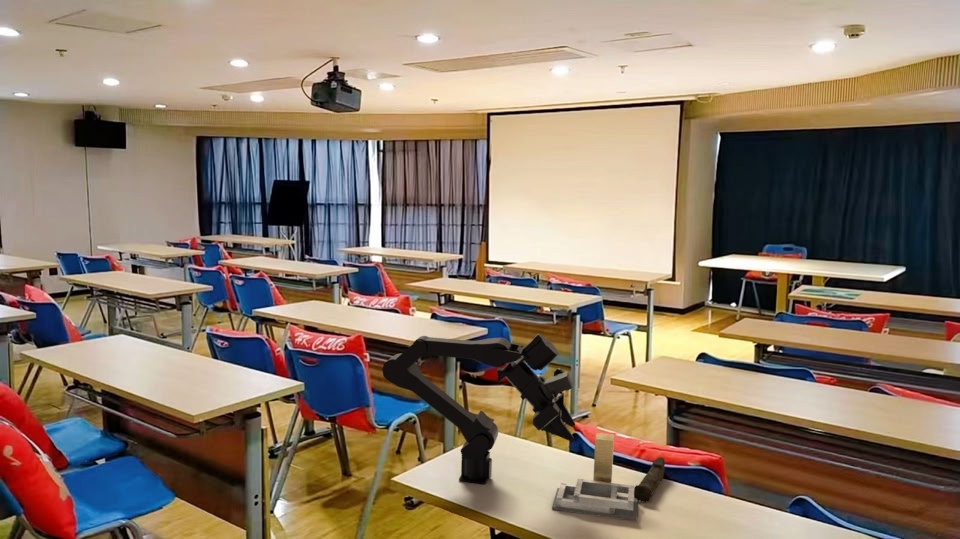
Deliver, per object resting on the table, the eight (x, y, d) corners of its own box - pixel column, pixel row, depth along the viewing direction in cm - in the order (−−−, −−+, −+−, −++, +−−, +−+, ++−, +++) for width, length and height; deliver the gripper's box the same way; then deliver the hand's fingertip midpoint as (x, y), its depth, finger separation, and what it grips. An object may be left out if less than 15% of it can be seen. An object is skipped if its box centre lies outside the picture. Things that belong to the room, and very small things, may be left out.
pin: (592, 493, 153) (595, 438, 152) (594, 485, 157) (596, 432, 156) (610, 495, 152) (613, 440, 151) (611, 487, 156) (614, 434, 155)
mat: (551, 509, 145) (551, 506, 145) (557, 490, 154) (557, 487, 154) (636, 521, 141) (636, 518, 141) (637, 501, 150) (637, 498, 150)
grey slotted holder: (555, 506, 145) (556, 493, 145) (560, 488, 154) (561, 476, 153) (632, 517, 141) (633, 503, 141) (633, 498, 150) (634, 485, 149)
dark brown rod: (649, 505, 148) (651, 485, 148) (632, 500, 151) (633, 481, 150) (673, 475, 165) (674, 457, 164) (657, 471, 167) (658, 453, 166)
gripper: (549, 371, 144) (599, 424, 144) (555, 351, 162) (599, 398, 162) (512, 403, 146) (561, 456, 146) (522, 380, 165) (565, 426, 164)
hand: (573, 432), depth 154 cm, fingers open, 9 cm apart
